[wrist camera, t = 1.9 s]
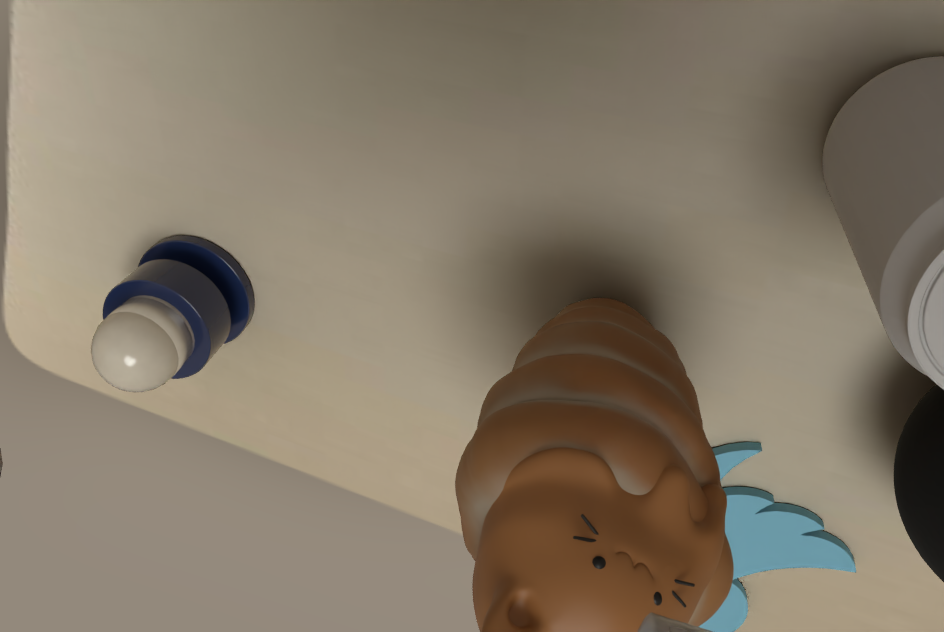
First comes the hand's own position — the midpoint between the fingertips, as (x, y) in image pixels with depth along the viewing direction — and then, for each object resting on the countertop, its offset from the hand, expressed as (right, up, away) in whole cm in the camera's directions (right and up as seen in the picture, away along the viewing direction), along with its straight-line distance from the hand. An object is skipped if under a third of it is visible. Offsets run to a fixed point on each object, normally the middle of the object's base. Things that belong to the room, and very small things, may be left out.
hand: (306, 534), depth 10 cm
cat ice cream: (+8, +3, +25) cm, 27 cm away
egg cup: (-11, +4, +29) cm, 31 cm away
